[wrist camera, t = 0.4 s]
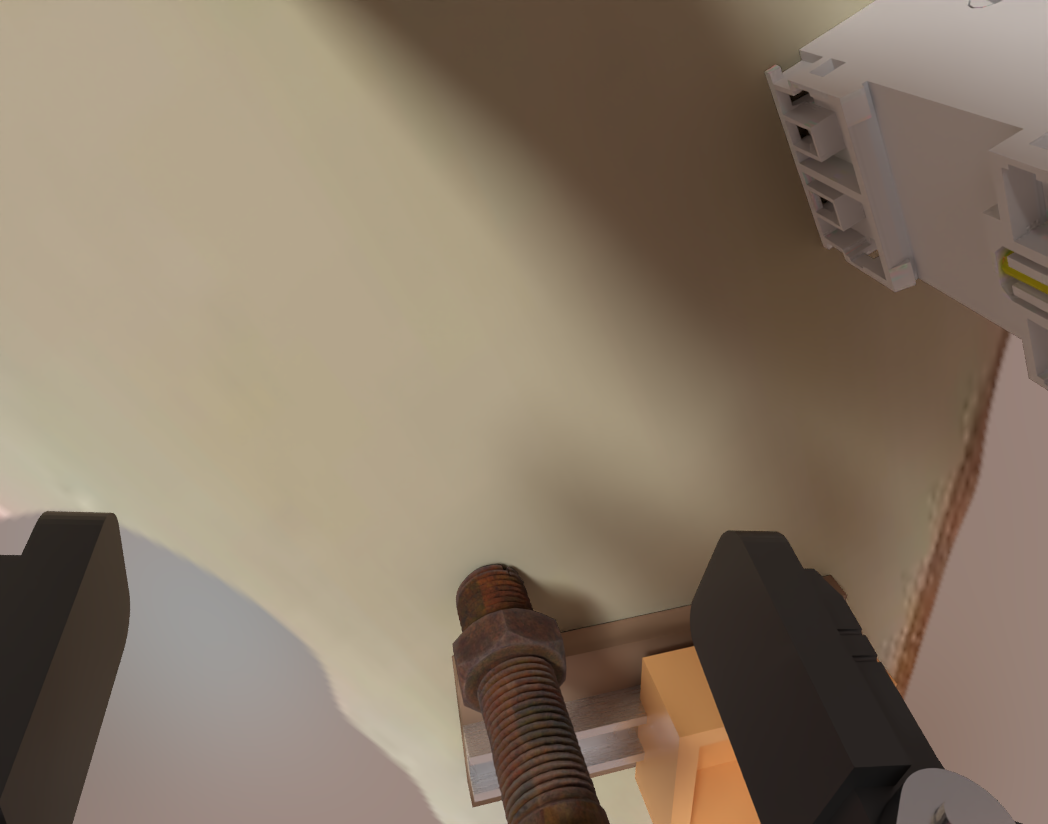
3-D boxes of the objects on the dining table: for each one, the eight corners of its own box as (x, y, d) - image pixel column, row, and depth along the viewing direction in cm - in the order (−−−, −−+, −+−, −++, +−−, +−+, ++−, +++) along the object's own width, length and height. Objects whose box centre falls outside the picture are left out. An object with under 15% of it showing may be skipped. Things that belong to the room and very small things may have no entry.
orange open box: (642, 657, 39) (679, 737, 35) (841, 612, 41) (897, 684, 37) (635, 778, 44) (667, 859, 40) (812, 733, 46) (858, 806, 42)
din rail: (462, 725, 39) (469, 757, 38) (836, 639, 43) (855, 665, 41) (468, 770, 41) (474, 802, 40) (825, 683, 45) (843, 710, 43)
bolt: (407, 616, 37) (467, 976, 24) (451, 531, 35) (539, 876, 22) (520, 635, 39) (626, 971, 27) (567, 557, 37) (704, 881, 25)
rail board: (452, 656, 39) (457, 680, 38) (830, 574, 42) (846, 595, 41) (467, 782, 44) (472, 807, 43) (802, 700, 48) (816, 721, 47)
